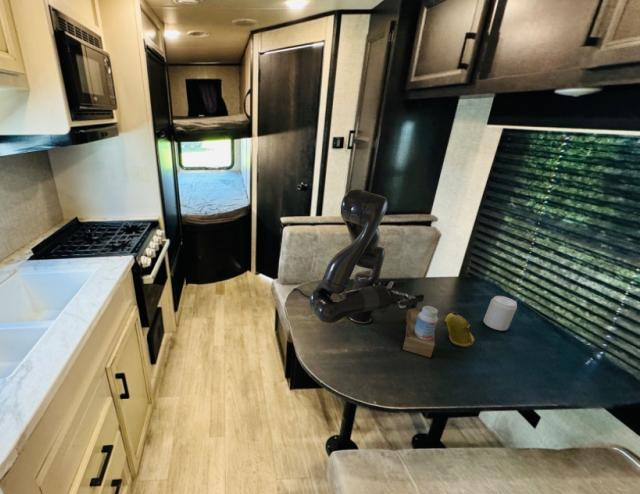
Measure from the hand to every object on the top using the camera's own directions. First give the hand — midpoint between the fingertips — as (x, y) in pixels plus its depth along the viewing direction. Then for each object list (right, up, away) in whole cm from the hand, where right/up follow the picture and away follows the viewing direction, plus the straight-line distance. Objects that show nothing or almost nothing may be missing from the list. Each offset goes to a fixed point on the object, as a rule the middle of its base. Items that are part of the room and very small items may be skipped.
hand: (412, 290), depth 103 cm
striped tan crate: (+12, -21, +19) cm, 30 cm away
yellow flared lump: (+25, -22, +16) cm, 37 cm away
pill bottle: (+10, -18, +11) cm, 23 cm away
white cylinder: (+48, -18, +25) cm, 57 cm away
